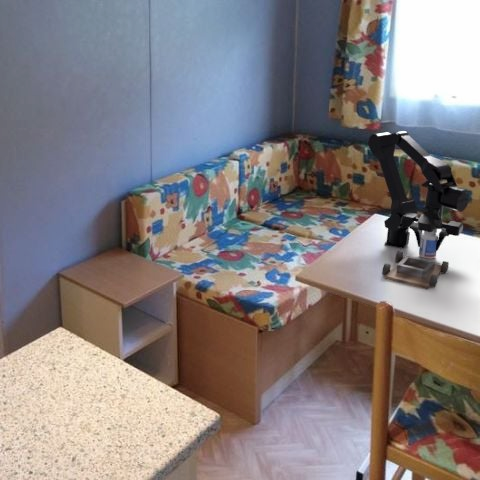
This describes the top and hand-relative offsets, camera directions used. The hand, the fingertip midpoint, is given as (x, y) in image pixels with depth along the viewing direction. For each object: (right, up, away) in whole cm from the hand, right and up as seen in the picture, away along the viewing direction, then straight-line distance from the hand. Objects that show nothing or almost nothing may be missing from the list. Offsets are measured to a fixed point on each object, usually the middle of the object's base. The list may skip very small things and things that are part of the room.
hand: (428, 248), depth 220 cm
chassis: (-7, -8, -12) cm, 16 cm away
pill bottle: (0, -3, +1) cm, 3 cm away
